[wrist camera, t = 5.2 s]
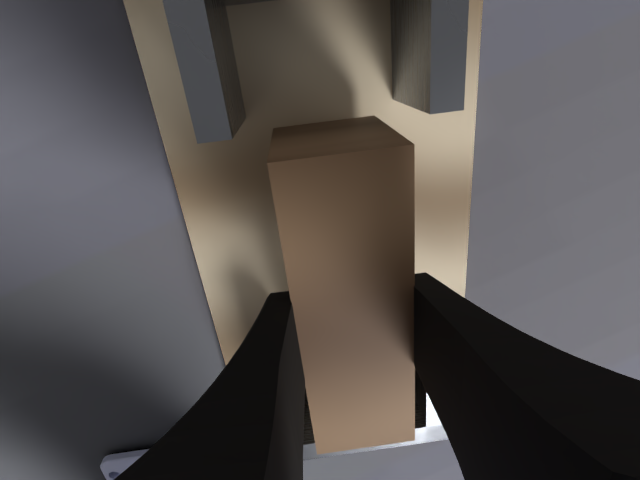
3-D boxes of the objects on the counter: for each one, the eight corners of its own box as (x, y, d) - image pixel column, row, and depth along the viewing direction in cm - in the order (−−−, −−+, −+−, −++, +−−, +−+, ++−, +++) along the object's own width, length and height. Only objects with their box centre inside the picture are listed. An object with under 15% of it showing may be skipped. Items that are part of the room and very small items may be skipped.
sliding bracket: (417, 96, 12) (463, 110, 9) (220, 121, 12) (197, 143, 9) (417, -52, 11) (474, -99, 7) (189, -25, 10) (147, -61, 7)
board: (454, 361, 18) (460, 370, 17) (237, 392, 18) (236, 402, 17) (482, -167, 10) (493, -179, 10) (96, -125, 10) (84, -135, 9)
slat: (384, 349, 15) (415, 440, 12) (309, 360, 15) (317, 454, 12) (374, 115, 11) (414, 144, 8) (273, 128, 11) (267, 163, 8)
